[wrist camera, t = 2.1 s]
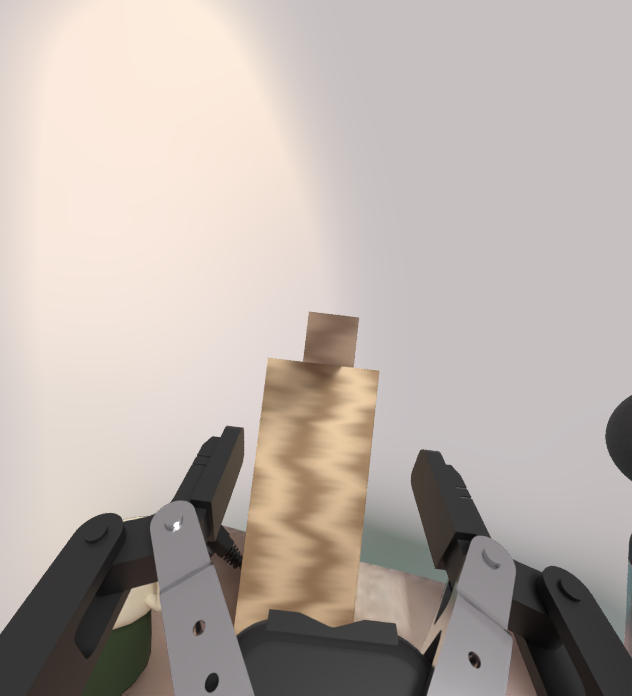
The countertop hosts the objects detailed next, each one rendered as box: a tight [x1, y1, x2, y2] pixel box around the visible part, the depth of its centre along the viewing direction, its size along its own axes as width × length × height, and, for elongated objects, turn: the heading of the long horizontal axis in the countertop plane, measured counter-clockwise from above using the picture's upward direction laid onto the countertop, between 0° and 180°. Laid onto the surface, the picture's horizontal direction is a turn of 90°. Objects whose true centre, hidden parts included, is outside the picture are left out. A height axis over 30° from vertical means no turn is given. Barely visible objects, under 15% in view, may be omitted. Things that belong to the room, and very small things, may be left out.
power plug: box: [206, 525, 243, 569], centre depth 42 cm, size 6×8×12 cm
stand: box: [234, 358, 379, 635], centre depth 37 cm, size 12×15×32 cm
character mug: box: [81, 516, 161, 696], centre depth 27 cm, size 11×7×13 cm, turn 67°
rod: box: [303, 312, 359, 368], centre depth 34 cm, size 4×23×4 cm, turn 1°
